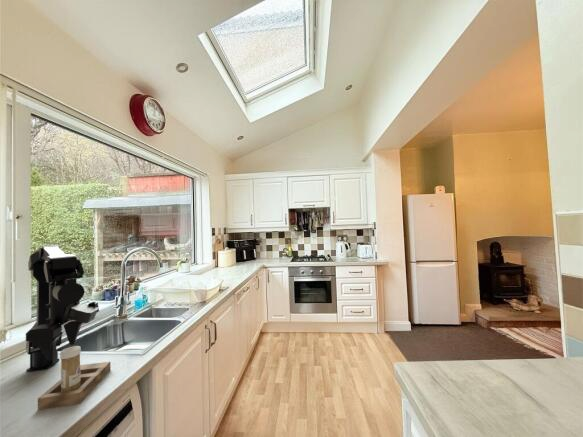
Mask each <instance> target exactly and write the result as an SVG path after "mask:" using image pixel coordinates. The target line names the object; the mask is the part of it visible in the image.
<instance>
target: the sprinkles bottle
mask: <svg viewBox="0 0 583 437" xmlns="http://www.w3.org/2000/svg"><path fill="white" fill-rule="evenodd" d="M81 350H82V349H81V346H80V345H71V346H70V347H66V348H63V349H62V350H60V353H59V355H60V356H59V357H60V358H59V359H60V363H61V364H60V366H61V367H60V379H61V392H67V391H75V390H78V389H79V388H80V380H81V379H80V365H81V352H82V351H81Z"/></svg>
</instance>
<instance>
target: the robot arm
mask: <svg viewBox="0 0 583 437" xmlns="http://www.w3.org/2000/svg"><path fill="white" fill-rule="evenodd" d="M82 263H83V262H82V261H81V260H80V258H78V256H77V255H76V254H66V253H65V252H64V251H62V249H61V246H60V245H57V244H55V245H42V246H39V248H38V250H37V251H35V252H34V253H32V254H30V255H29V258H28V266H27V267H28V271H30V275H31V276H32V277H33V278H34V279H35V280H36V321H35V323H34V324H33V326H32V327H31V328H30V329H29V330H28V331H27V332H25V342H26V343H25V350H26V351H25V352H26V354H27V355H29V367H28V368H26V370H25V371H26V372H33V371H41V370H48V369H49V368H51V367H52V366H53V365H55V364H56V363H58V362H59V361H60V358H59V355H58V354H59V350H58V349H57V347H60V346H61V345H62V338H63V334H64V332H63V330H62V329H63V328H64V331H65V335H66V337H67V340H68V343H69V345H71V346H75V344H76V341H77V339H78V335H79V332H80V330H81V327H82V326H83V324H89V322H90V321H93V320H94V319H95V317H96V315H97V313H99V312H100V310H99V309H100V308H99V303H98V302H97V301H93V300H92V301H90V302H89V303H88V304H87V303H85V304H80V300H82V298H83V297H84V295H85V291H86V290H85V287H84V286H83V285H81V284H80V283H78V282H77V279H83V278H84V276H85V275H84V274H85V270H84V267H83V264H82Z"/></svg>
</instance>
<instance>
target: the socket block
mask: <svg viewBox="0 0 583 437" xmlns="http://www.w3.org/2000/svg"><path fill="white" fill-rule="evenodd" d="M110 372H111V361H103V362H95V363H87V364H86V363H85V364H80V379H81V380H80V388H79V389H78V390H75V391H67V392H61V378H60V379H59V380H58V381H57V382H56V383H55V384H52V386H51V387H50V388H48V389H47V390H45V392H43V394H41V395H40V396H39V397H37V411H39V410H45V409H52V408H59V407H60V408H61V407H67V406H74V405H78V404H79V405H80V404H81V403H82V402H83V401H84V399H86V397H88V395H89V394H90V393H91V392H92V391H93V390H94V389H95V388H96V387H97V386H98V385H99V384H100V383H101V381H102V380H103V379H104V378H105V377H106V376H107V375H108V374H109V373H110Z"/></svg>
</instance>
